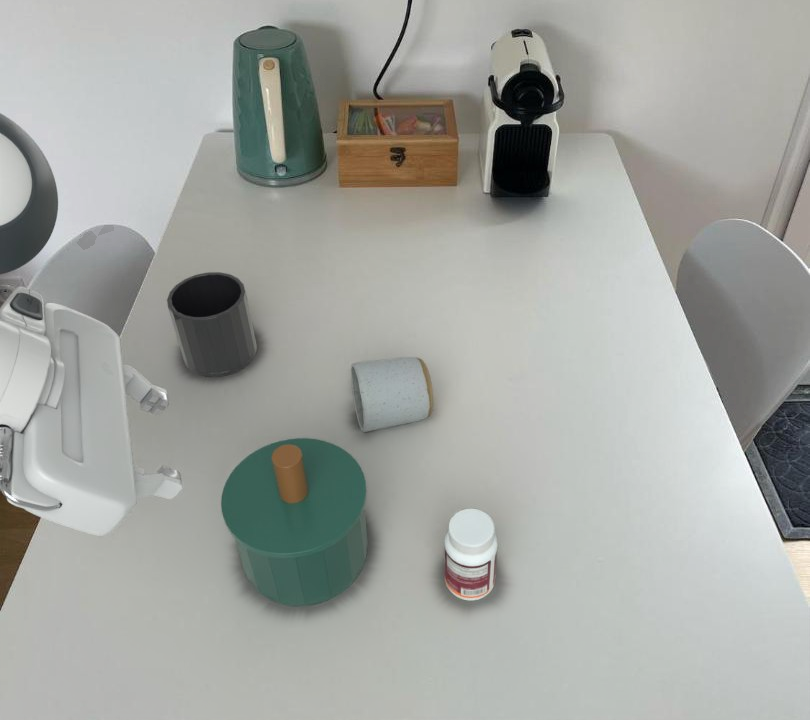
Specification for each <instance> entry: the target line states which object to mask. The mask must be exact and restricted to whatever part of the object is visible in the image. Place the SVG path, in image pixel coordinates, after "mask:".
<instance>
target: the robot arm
mask: <svg viewBox="0 0 810 720" xmlns="http://www.w3.org/2000/svg"><path fill="white" fill-rule="evenodd" d="M58 212H59V194H58V187H57V182H56V178H55V175H54V172H53V170H52V168H51V165H50V163H49V161H48V159H47V157H46V156H45V153H44V152H43V150H42V149H41V148H40V146H39V145H38V144H37V143H36V141H35V140H34V138H32V137H31V136H30V134H29V133H28V132H27V131H26V130H25V129H23V127H21V126H20V125H19V124H17V123H16V122H15V121H14V120H12V119H10V118H9V117H7V116H6V115H5V114H2V113H1V112H0V275H4V274H9V273H11V272H14V271H16V270H17V269H20V268H21V267H24V266H25V265H26V264H28V263H29V262H31V261H32V260H33V259H35V258H36V257H37V256H38V255H39V254H40V253H41V252H42V251H43V249H44V247H45V246H46V245H47V243H48V241H50V239H51V236H52V234H53V232H54V229H55V226H56V224H57V223H56V222H57V219H58ZM127 396H128V397H130V398H131V399H133V401H135V402H137V403H139V407H140V411H141V410H142V411H144V412H147V413H151V414H153V415H156V416H158V415H159V416H160V415H161V414H163V413H164V412H165V410H166V408H168V407H169V405H170V403H169V401H170V400H169V394H168V390H167V389H165V388H163V387H160V386H158V385H155V384H152V383H151V382H150V381H149V380H148V379H147V378H146V377H145V376H143V375H142V374H141V373H140V372H139V371H137V370H136V369H135V368H134V367H133V366H131V365H128V364H125V363H124V362H123V352H122V343H121V337H120V335H119V334H117V333H116V331H115V330H114V329H112V327H110V326H109V325H108V324H107V323H105V322H102V321H101V320H99V319H96V318H94V317H93V316H90V315H87V314H85V313H83V312H80V311H79V310H76V309H73V308H71V307H68V306H66V305H63V304H60V303H57V302H45V300H44V298H43V296H42V295H41V294H40V293H38V292H37V291H34V290H33V289H30V288H28V287H26V286H25V287H24V286H16V288H14V289H13V291H12V292H11V293H10V295H9V296H8V297H7V298H6V300H5V301H4V302H3V303H2V305H1V307H0V492H1V494H2V495H3V496H4V497H5V498H6V501H7V502H8V503H9V504H11V505H12V506H14V507H17V508H21V509H23V510H25V511H26V512H29V514H32V515H35V516H37V517H39V518H42V519H43V520H47V521H49V522H51V523H53V524H54V523H55V524H56V525H57V524H58V525H60V526H62V527H66V528H68V529H72V530H74V531H78V532H80V533H83V534H88V535H91V536H96V537H104V536H106V535H109V534H111V533H114V532H115V531H116V530H117V529H118V528H120V526H121V525H122V524H123V523H124V522H125V521H126V520H127V518H128V517H129V516H130V514H132V512H133V511H134V509H136V506H137V504H138V500H142V499H144V498H150V497H152V496H155V497H159V498H162V499H166V500H172V499H174V498H175V497H177V496H178V494H180V492H181V491H182V490H183V487H184V486H183V480H182V474H181V472H180V470H178V469H172V468H171V467H169V466H165V465H161V467H160V468H159V469H158V470H157V471H156V473H152V474H146V473H145V469H144V468H141V467H138V466H136V465H134V457H133V455H134V454H133V448H132V437H131V429H130V427H131V426H130V419H129V409H128V400H127Z"/></svg>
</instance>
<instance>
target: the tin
mask: <svg viewBox="0 0 810 720" xmlns="http://www.w3.org/2000/svg"><path fill="white" fill-rule="evenodd" d="M234 540H235V544H236V547H237V551H238V554H239V557H240V561H241V564H242V567H243V571H244V574H245V576H246V578H247V579H248V581H249V582H250V584H251V585H252V587H253V588H254V589H255V590H256V591H257V592H258V593H259V594H261V595H262V597H265V598H266V599H268V600H269V601H272V602H274V603H277V604H280V605H283V606H284V605H285V606H291V607H306V606H313V605H318V604H321V603H323V602H327V601H329V600H331V599H333V598H335V597H337V596H339V595H340V594H341V593H343V592H344V591H345V590H347V589H348V588H349V587H350V586H351V585H352V584H353V583H354V582H355V581H356V579H357V578H358V577H359V576H360V573H361V572H362V570H363V568H364V566H365V562H366V559H367V556H368V555H367V553H368V543H369V537H368V530H367V521H366V512H365V509H364V510H363V512H362V515H361V517H360V519H359V520H358V522H357V524H356V525H355V526H354V527H353V529H352V530H351V531H350V532H349V533H348V534H347V535H346V536H345V537H344V538H342V539H341V540H340V541H338V542H337V543H335V544H334V545H332V546H331V547H329V548H327V549H325V550H322V551H320V552H317V553H314V554H311V555H308V556H303V557H297V558H275V557H269V556H265V555H261V554H258V553H256V552H253V551H251V550H249V549H248V548H246V547H244V546H243V545H242V544H240V543H239V542H238V541H237V540H236V539H235V538H234Z"/></svg>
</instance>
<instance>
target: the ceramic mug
mask: <svg viewBox="0 0 810 720" xmlns="http://www.w3.org/2000/svg"><path fill="white" fill-rule="evenodd" d="M350 382H351V390H352V397H353V398H352V399H353V404H354V409H355V410H354V411H355V414H356V419H357V422H358V425H359V426H358V427H359V428H360V430H361V431H362V432H364V433H366V432H371V431H375V430H381V429H385V428H391V427H395V426H399V425H406V424H410V423H417V422H419V421H422V420H426V419H427V418H428V417H430V416H431V414H432V412H433V411H434V390H433V384H432V379H431V375H430V371H429V368H428V365H427V364H426V362H425V361H424V360H423V359H422V358H420V357H417V356H401V357H394V358H386V359H378V360H367V361H358V362H354V363H352V364H351V367H350Z"/></svg>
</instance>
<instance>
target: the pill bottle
mask: <svg viewBox="0 0 810 720" xmlns="http://www.w3.org/2000/svg"><path fill="white" fill-rule="evenodd" d="M495 531H496V529H495V522H494V521H493V519H492V517H491V516H490V514H488V513H487V512H485V511H484V510H481V509H477V508H471V507H470V508H464V509H461V510H458V511H457V512H455V513H454V514H453V515H452V516H451V518H450V520H449V522H448V530H447V532H446V534H445V536H444V542H443V547H444V549H443V550H444V582H445V586H446V588H447V589H448V590H449V592H451V594H452V595H453V596H455V597H457V598H458V599H460V600H464V601H478V600H481V599H483V598H485V597H486V596H488V595H489V594H490V593H491V592H492V590H493V588H494V586H495V583H496V577H497V576H496V575H497V559H498V548H499V543H498V538H497V535H496V532H495Z"/></svg>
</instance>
